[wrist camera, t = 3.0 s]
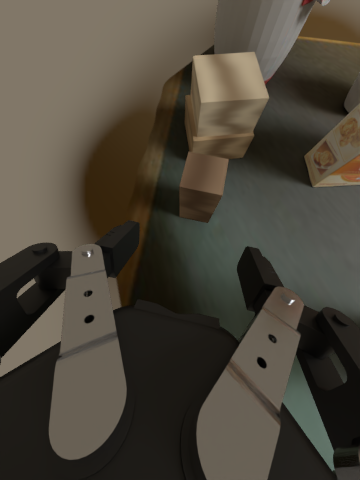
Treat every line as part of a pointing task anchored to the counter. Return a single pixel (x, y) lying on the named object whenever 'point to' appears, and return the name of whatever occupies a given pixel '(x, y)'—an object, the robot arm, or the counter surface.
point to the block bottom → (214, 139)
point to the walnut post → (201, 186)
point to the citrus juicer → (261, 29)
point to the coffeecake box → (337, 154)
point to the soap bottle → (353, 95)
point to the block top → (227, 93)
